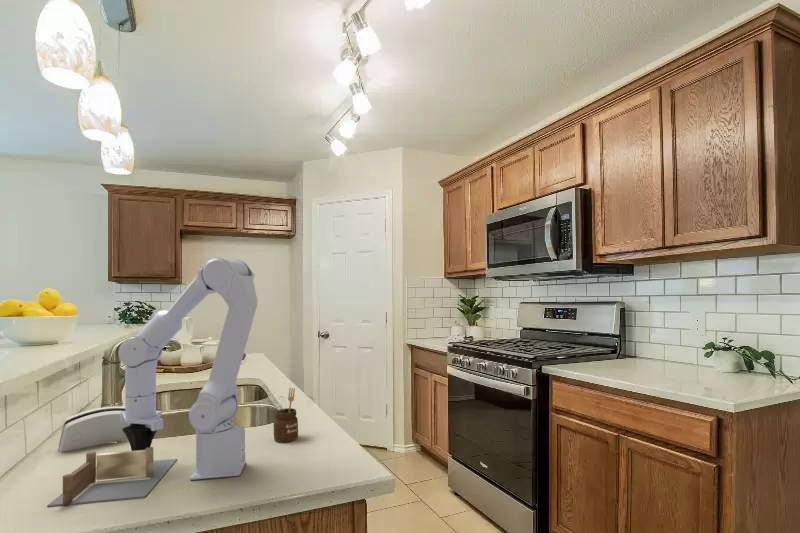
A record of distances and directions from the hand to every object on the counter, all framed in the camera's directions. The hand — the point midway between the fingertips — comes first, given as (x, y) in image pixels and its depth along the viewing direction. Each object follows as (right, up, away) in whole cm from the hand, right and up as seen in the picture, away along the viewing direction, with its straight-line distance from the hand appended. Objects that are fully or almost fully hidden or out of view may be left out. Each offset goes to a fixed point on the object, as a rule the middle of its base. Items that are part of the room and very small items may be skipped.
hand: (140, 459), depth 98 cm
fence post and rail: (-5, -2, -11) cm, 12 cm away
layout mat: (-1, -2, -5) cm, 6 cm away
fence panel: (0, -1, -5) cm, 6 cm away
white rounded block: (-21, -4, +19) cm, 28 cm away
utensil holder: (+26, -3, +18) cm, 32 cm away
